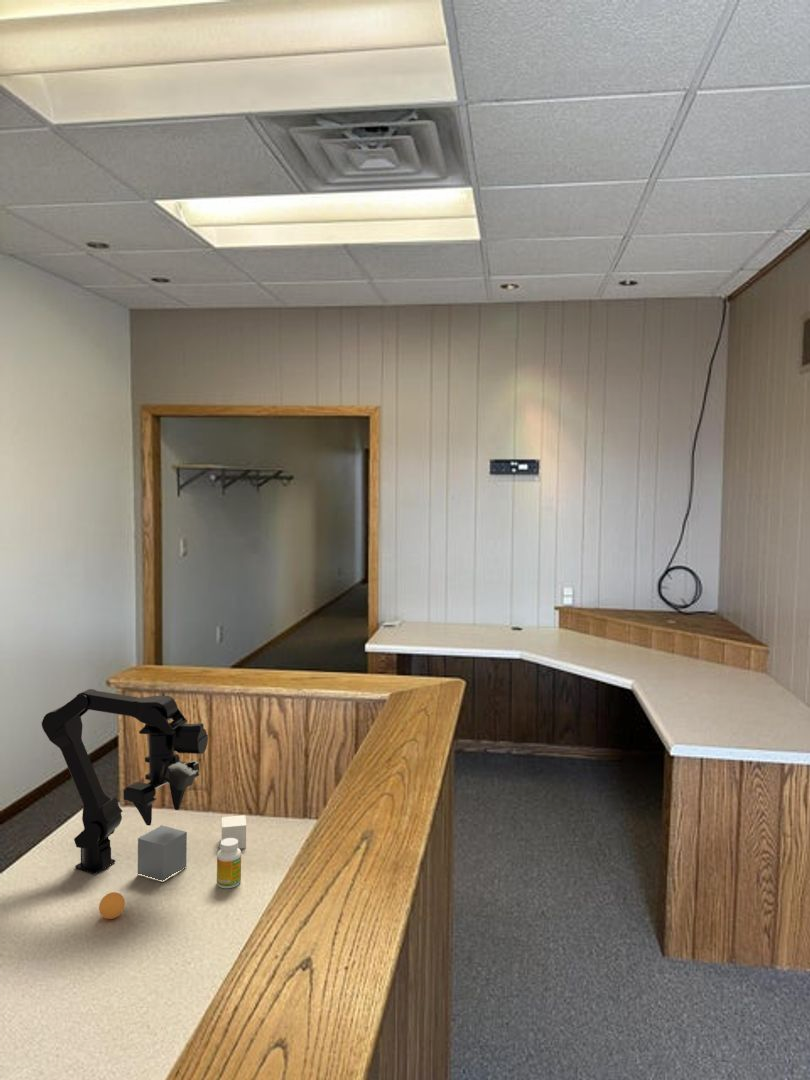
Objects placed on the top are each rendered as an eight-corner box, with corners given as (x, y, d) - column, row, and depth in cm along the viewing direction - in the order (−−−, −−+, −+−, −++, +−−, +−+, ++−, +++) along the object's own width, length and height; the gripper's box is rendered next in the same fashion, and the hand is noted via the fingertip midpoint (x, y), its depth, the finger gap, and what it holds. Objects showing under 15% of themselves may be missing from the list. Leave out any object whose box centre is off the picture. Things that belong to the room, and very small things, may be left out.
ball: (93, 920, 150) (93, 896, 149) (112, 908, 154) (112, 885, 154) (111, 926, 148) (111, 902, 147) (130, 914, 152) (130, 891, 152)
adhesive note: (246, 848, 183) (246, 825, 182) (221, 850, 181) (221, 827, 181) (245, 837, 188) (245, 815, 188) (221, 839, 187) (221, 817, 186)
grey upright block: (137, 875, 168) (137, 838, 167) (161, 860, 175) (161, 825, 174) (163, 883, 165) (163, 845, 164) (186, 868, 172) (186, 831, 171)
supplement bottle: (234, 890, 162) (235, 848, 162) (212, 887, 163) (213, 845, 163) (244, 878, 168) (245, 837, 167) (223, 875, 169) (223, 835, 168)
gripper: (159, 770, 156) (160, 840, 157) (215, 744, 173) (216, 807, 174) (121, 762, 161) (122, 831, 162) (179, 738, 178) (180, 800, 179)
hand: (163, 817), depth 169 cm, fingers open, 9 cm apart
